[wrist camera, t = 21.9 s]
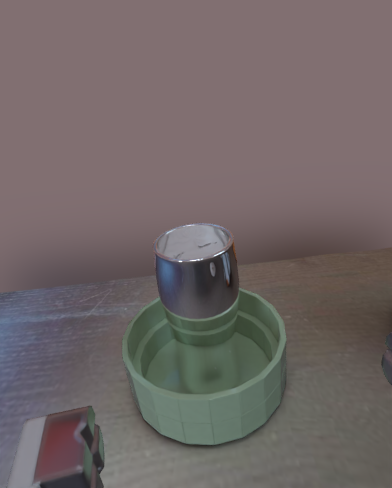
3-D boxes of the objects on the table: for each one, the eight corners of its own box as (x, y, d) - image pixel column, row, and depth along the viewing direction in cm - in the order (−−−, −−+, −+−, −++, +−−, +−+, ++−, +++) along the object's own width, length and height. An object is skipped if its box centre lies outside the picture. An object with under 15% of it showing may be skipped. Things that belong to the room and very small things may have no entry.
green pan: (138, 470, 28) (123, 421, 25) (131, 341, 41) (121, 300, 38) (314, 422, 30) (317, 372, 27) (253, 314, 43) (251, 273, 40)
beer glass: (162, 387, 34) (132, 254, 27) (195, 340, 39) (177, 218, 32) (227, 413, 31) (212, 269, 24) (254, 357, 36) (249, 226, 29)
